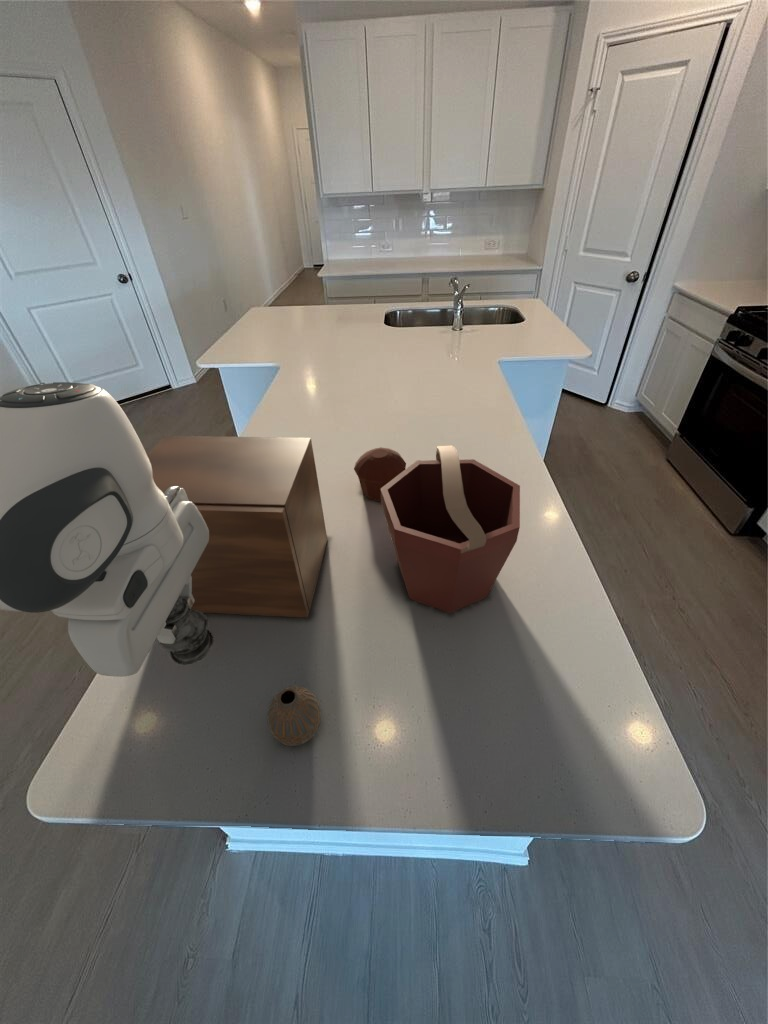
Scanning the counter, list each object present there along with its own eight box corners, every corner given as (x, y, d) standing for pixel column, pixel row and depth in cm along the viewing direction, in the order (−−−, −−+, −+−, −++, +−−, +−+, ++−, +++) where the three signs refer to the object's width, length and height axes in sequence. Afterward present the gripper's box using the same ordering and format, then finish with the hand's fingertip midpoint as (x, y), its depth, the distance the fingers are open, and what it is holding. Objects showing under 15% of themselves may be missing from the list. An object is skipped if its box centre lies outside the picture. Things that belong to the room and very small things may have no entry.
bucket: (500, 642, 70) (528, 528, 54) (367, 619, 75) (356, 506, 58) (504, 538, 88) (526, 429, 72) (397, 524, 93) (395, 418, 76)
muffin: (389, 470, 108) (388, 434, 102) (415, 492, 101) (416, 455, 94) (347, 486, 103) (343, 450, 97) (371, 511, 96) (369, 474, 90)
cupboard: (309, 611, 76) (284, 504, 61) (166, 605, 78) (107, 500, 63) (327, 539, 90) (311, 437, 74) (205, 535, 92) (164, 435, 76)
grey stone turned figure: (225, 638, 57) (197, 577, 49) (188, 675, 53) (151, 614, 45) (195, 619, 59) (163, 557, 51) (158, 652, 55) (117, 591, 48)
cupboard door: (301, 643, 71) (272, 538, 56) (148, 635, 73) (80, 532, 58) (309, 612, 76) (284, 506, 61) (165, 605, 78) (106, 502, 63)
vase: (328, 706, 63) (321, 674, 58) (316, 757, 58) (306, 728, 52) (282, 700, 64) (270, 668, 59) (266, 749, 59) (251, 720, 53)
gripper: (151, 477, 52) (189, 558, 61) (34, 622, 36) (107, 702, 45) (203, 478, 51) (233, 559, 60) (106, 625, 36) (165, 705, 45)
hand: (178, 622), depth 53 cm, fingers closed on grey stone turned figure, 3 cm apart
